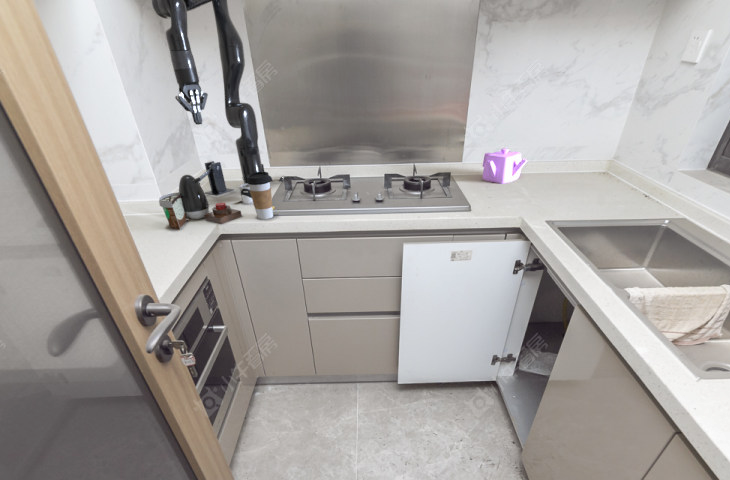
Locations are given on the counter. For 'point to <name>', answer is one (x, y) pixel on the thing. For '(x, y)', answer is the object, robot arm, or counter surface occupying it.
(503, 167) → the teakettle
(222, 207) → the button
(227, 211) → the button block
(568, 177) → the counter surface
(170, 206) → the food container
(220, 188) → the tap bracket
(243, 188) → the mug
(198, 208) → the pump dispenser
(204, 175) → the tap lever
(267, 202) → the coffee cup
